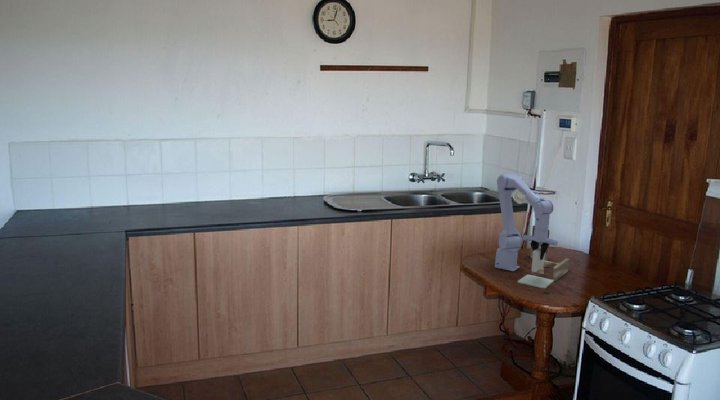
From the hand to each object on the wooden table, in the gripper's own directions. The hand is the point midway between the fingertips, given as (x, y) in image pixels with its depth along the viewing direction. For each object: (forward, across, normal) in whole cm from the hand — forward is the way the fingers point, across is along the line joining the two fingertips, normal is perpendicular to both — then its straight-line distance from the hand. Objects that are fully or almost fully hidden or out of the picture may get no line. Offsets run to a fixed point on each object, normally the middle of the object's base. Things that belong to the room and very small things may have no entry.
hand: (538, 258), depth 262 cm
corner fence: (+10, 0, +15) cm, 18 cm away
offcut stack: (+11, -4, +15) cm, 19 cm away
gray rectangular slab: (+5, 0, 0) cm, 5 cm away
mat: (+10, 0, -1) cm, 10 cm away
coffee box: (+11, -11, +33) cm, 37 cm away
